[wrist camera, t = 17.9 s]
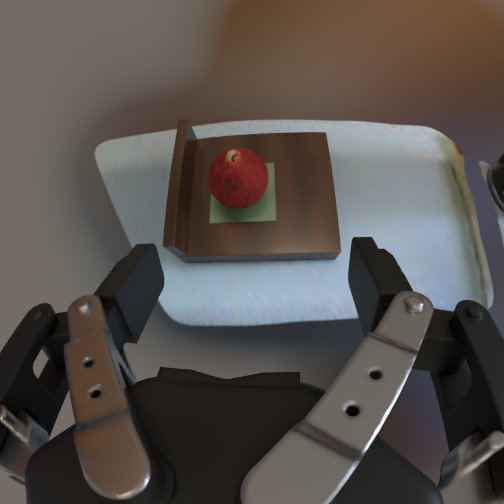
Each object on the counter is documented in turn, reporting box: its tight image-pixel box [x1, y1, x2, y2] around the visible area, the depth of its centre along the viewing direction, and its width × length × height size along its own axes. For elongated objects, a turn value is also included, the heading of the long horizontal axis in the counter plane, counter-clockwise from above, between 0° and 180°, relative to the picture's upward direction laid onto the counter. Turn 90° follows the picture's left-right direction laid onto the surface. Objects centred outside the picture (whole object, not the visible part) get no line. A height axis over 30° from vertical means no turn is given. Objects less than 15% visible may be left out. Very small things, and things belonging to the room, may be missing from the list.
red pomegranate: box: [208, 148, 269, 209], centre depth 27 cm, size 6×6×8 cm
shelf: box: [163, 120, 341, 263], centre depth 31 cm, size 17×15×7 cm
